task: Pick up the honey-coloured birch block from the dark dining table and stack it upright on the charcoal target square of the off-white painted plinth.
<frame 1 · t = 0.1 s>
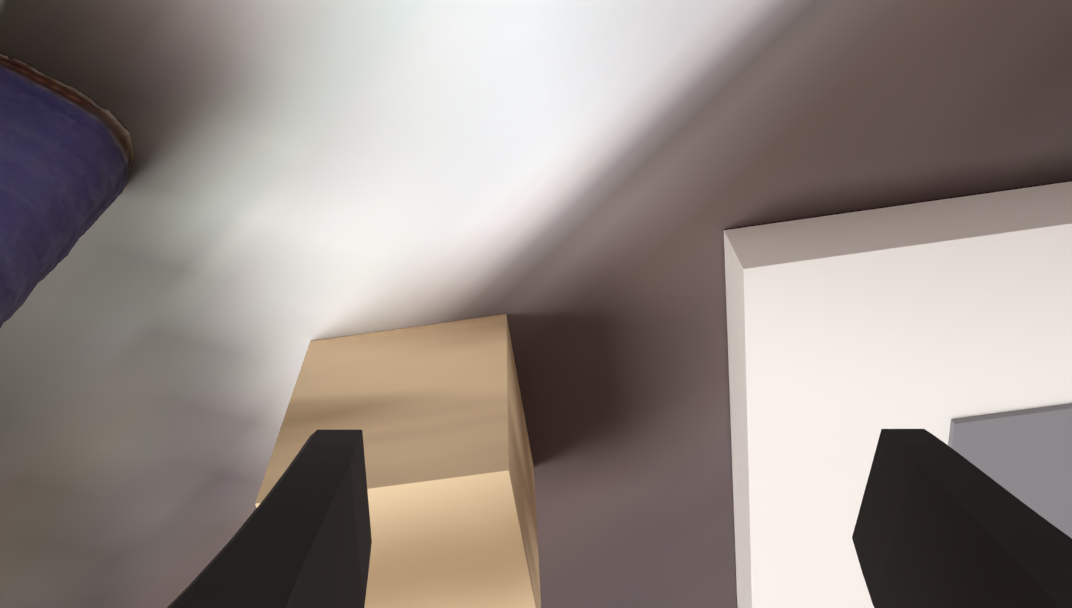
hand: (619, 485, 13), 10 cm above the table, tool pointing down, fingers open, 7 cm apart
block: (427, 406, 24), on the table
plinth: (1048, 468, 26), on the table
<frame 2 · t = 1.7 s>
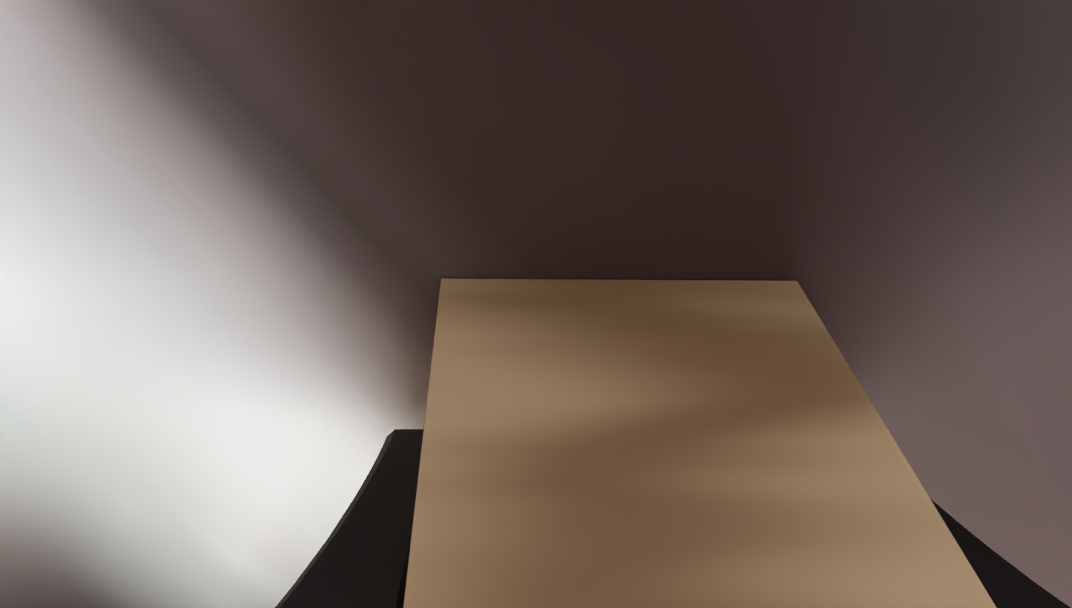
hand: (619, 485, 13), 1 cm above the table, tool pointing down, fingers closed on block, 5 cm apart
block: (608, 423, 14), on the table, touching gripper
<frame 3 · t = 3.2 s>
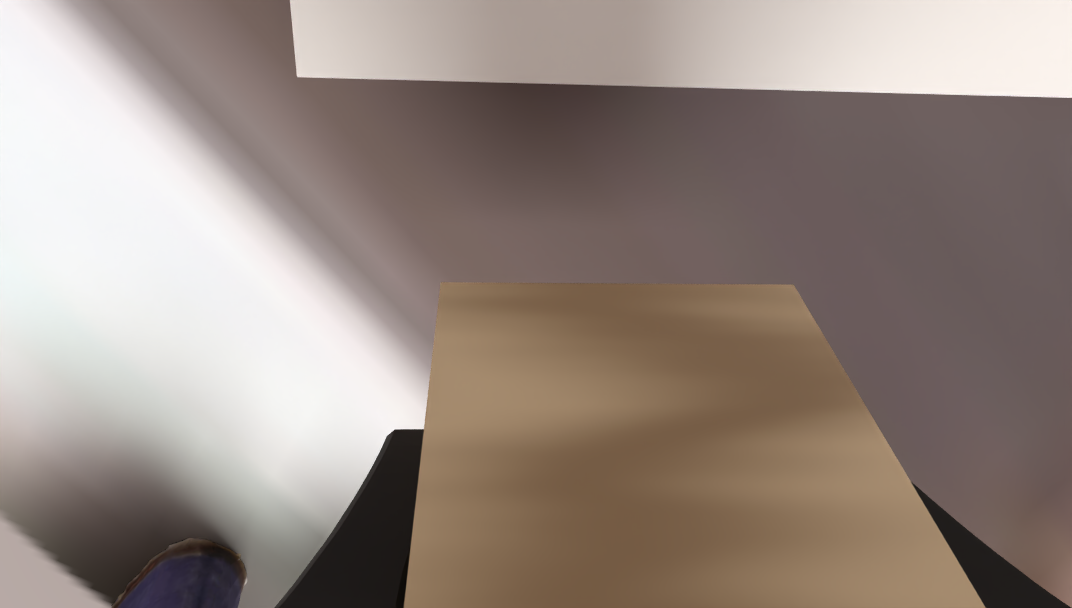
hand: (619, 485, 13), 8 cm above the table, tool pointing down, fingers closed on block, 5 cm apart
block: (606, 425, 14), point 7 cm above the table, touching gripper
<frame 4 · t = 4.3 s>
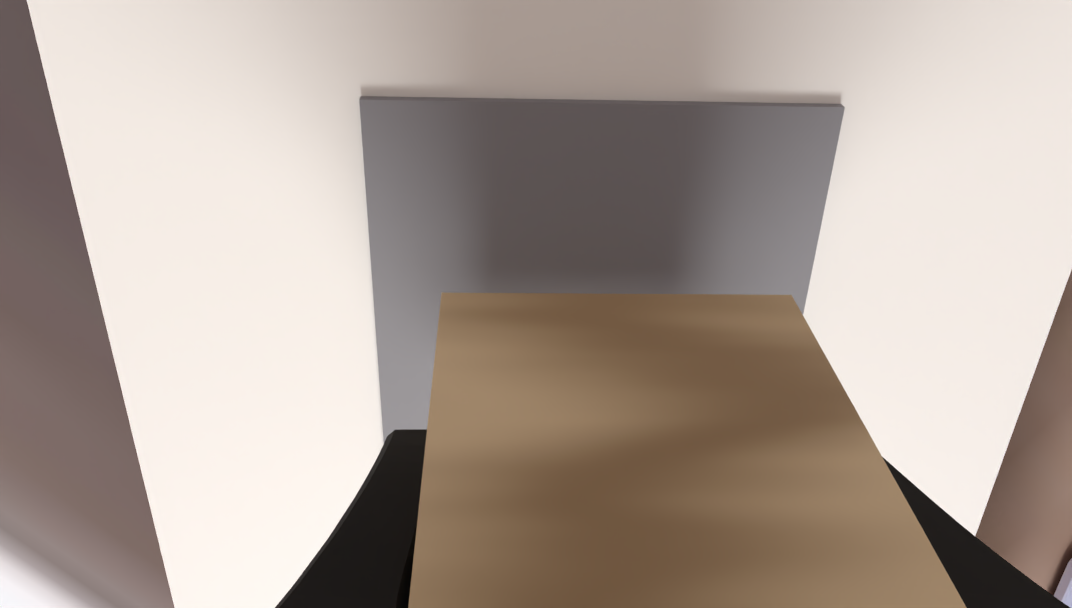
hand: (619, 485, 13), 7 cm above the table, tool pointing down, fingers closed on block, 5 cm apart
block: (606, 432, 14), point 5 cm above the table, touching gripper
plinth: (581, 260, 19), on the table
when the fingers open (5 cm above the table, at t = 5.1 s): block drops 1 cm, resting on plinth.
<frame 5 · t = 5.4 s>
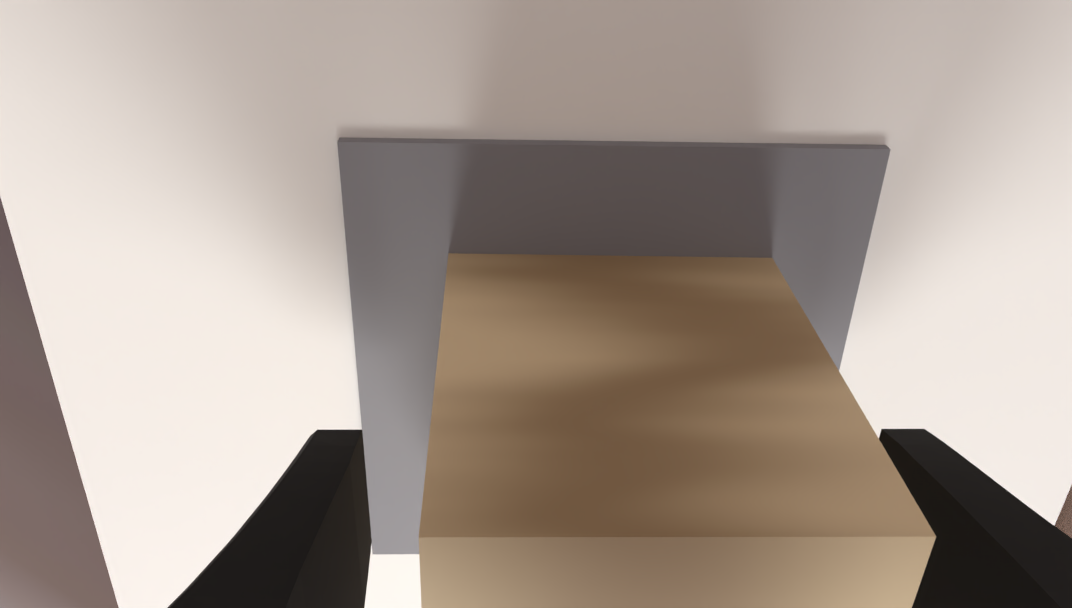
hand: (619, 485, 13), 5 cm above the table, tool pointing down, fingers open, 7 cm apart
block: (600, 389, 15), point 2 cm above the table, touching plinth
plinth: (588, 309, 17), on the table
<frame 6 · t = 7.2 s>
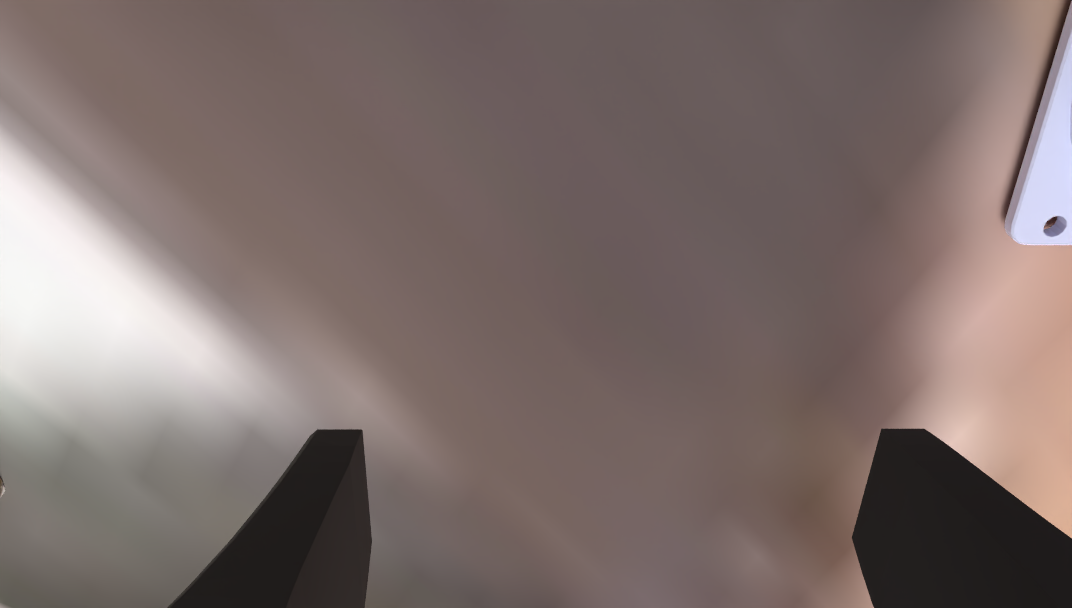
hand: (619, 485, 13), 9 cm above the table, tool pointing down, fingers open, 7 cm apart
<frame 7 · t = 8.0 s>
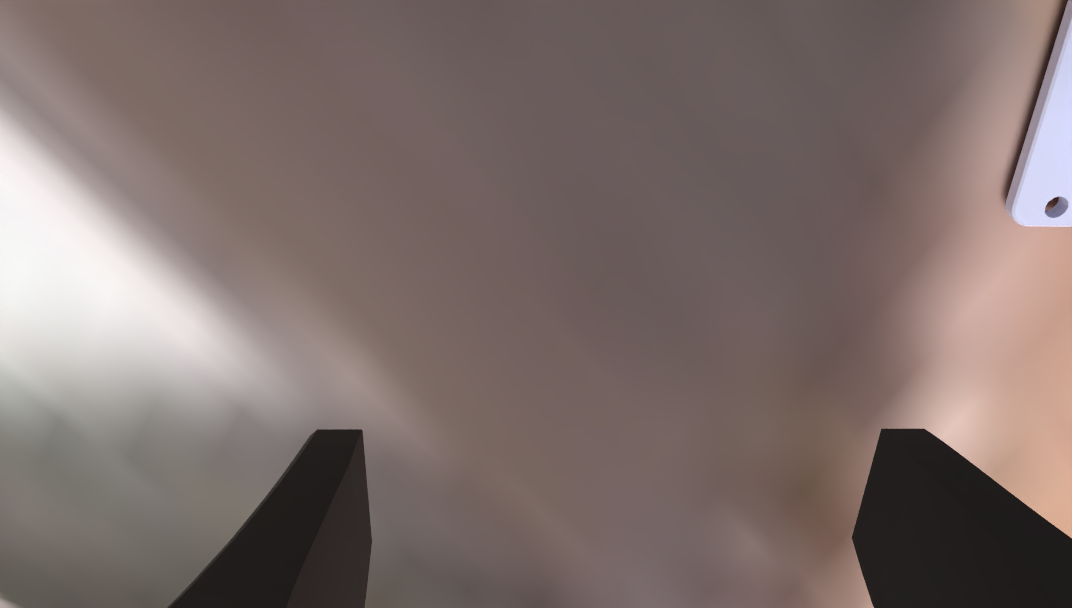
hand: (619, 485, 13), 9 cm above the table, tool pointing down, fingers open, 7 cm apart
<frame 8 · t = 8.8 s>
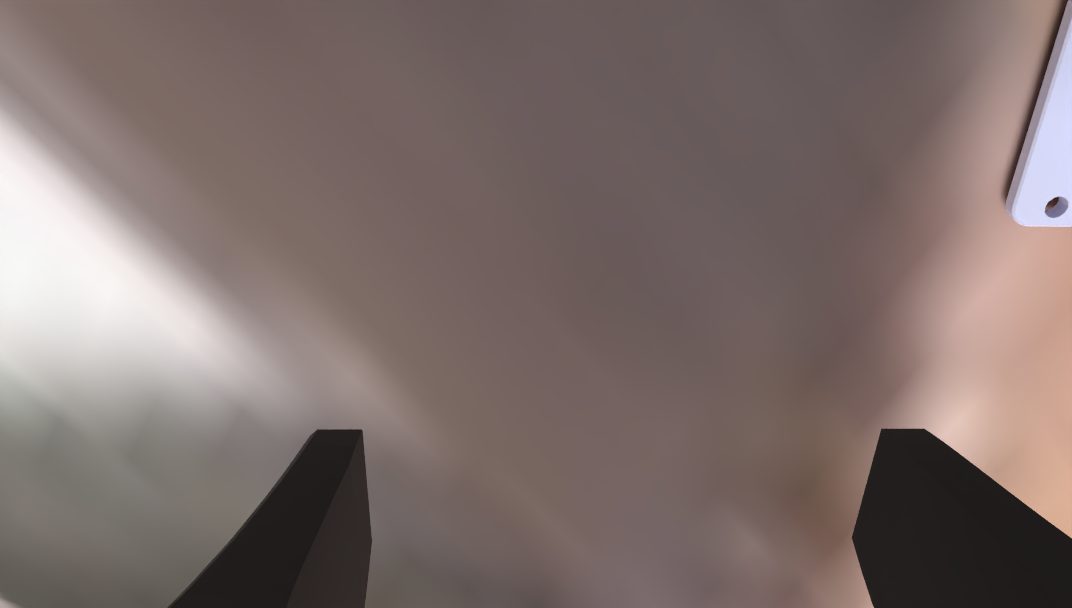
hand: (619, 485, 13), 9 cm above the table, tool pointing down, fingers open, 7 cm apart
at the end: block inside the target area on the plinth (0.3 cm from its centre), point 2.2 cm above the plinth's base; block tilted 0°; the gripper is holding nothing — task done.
